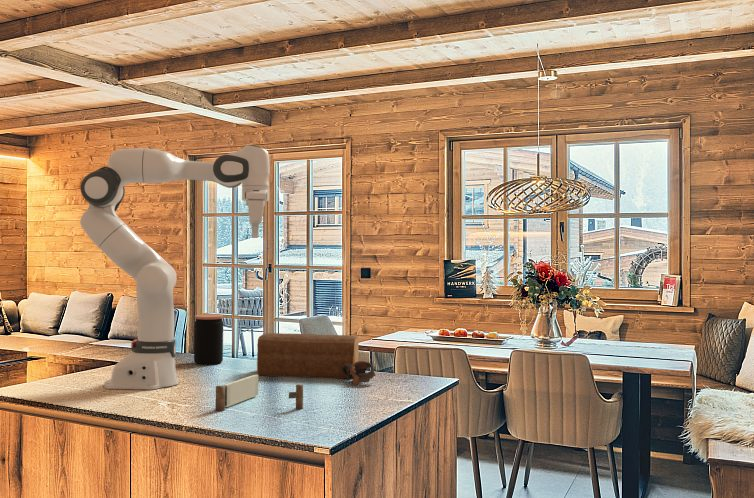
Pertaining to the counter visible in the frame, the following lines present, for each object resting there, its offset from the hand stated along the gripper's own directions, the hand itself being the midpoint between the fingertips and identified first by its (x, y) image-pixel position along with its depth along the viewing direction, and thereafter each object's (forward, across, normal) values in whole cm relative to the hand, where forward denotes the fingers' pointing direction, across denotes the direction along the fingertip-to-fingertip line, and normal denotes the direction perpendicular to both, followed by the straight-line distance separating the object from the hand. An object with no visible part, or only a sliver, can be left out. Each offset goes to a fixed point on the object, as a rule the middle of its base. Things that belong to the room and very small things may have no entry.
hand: (254, 237), depth 230 cm
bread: (+48, -14, +20) cm, 54 cm away
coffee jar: (+48, -40, -16) cm, 64 cm away
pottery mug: (+48, +3, +35) cm, 59 cm away
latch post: (+47, +38, +11) cm, 62 cm away
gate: (+47, +28, -4) cm, 55 cm away
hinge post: (+47, +38, -9) cm, 61 cm away
